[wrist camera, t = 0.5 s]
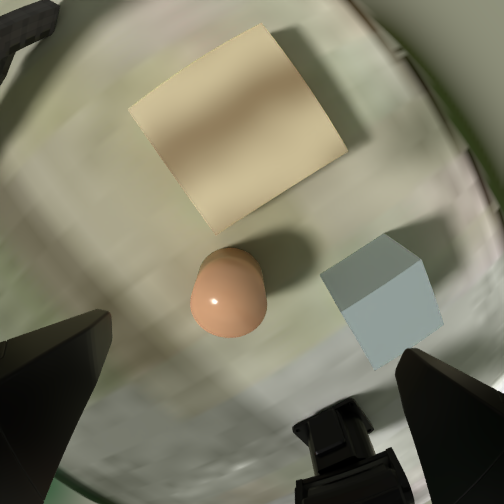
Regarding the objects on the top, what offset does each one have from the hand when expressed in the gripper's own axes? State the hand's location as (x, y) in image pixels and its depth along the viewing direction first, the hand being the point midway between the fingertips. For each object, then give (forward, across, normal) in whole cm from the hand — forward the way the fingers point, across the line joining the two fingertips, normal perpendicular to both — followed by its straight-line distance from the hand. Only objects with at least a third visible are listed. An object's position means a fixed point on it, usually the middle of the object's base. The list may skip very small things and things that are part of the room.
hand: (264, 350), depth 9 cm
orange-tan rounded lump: (+13, +1, +3) cm, 13 cm away
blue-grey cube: (+13, -9, +2) cm, 16 cm away
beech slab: (+13, +2, -7) cm, 15 cm away
